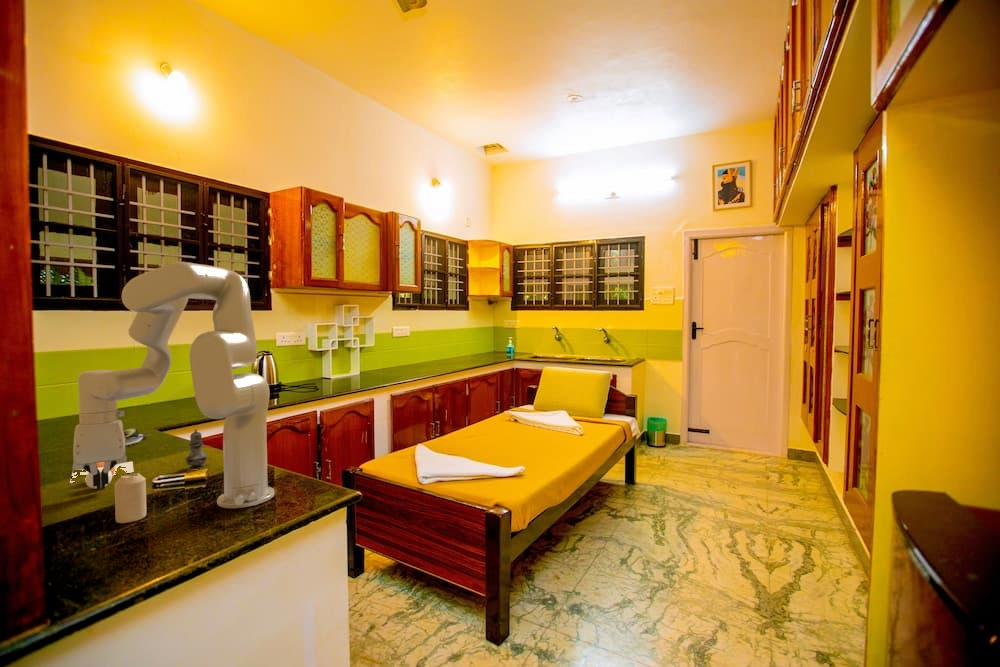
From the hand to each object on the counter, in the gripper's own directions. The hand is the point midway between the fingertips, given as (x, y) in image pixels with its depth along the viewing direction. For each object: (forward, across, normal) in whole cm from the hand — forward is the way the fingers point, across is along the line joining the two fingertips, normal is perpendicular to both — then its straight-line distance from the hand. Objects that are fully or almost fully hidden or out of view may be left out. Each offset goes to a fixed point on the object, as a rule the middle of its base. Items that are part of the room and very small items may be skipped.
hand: (101, 487), depth 120 cm
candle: (+2, -6, +25) cm, 25 cm away
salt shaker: (+2, -22, -9) cm, 24 cm away
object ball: (-1, 0, -13) cm, 13 cm away
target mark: (+2, 0, -23) cm, 23 cm away
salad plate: (+2, -3, -64) cm, 64 cm away
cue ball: (-1, 0, -6) cm, 6 cm away
